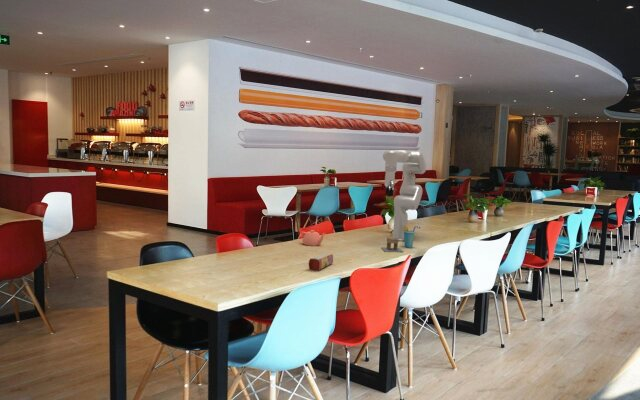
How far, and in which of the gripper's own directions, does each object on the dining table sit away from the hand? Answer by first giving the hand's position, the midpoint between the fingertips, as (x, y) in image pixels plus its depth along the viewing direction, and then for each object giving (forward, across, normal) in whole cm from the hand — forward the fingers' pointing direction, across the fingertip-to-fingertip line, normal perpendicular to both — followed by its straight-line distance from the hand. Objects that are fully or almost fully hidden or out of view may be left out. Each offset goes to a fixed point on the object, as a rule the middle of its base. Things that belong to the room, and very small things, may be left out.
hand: (389, 195), depth 375 cm
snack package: (+34, +74, -50) cm, 95 cm away
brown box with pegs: (+33, +19, 0) cm, 38 cm away
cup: (+34, +8, +14) cm, 37 cm away
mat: (+33, +19, 0) cm, 38 cm away
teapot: (+34, +9, -50) cm, 61 cm away
